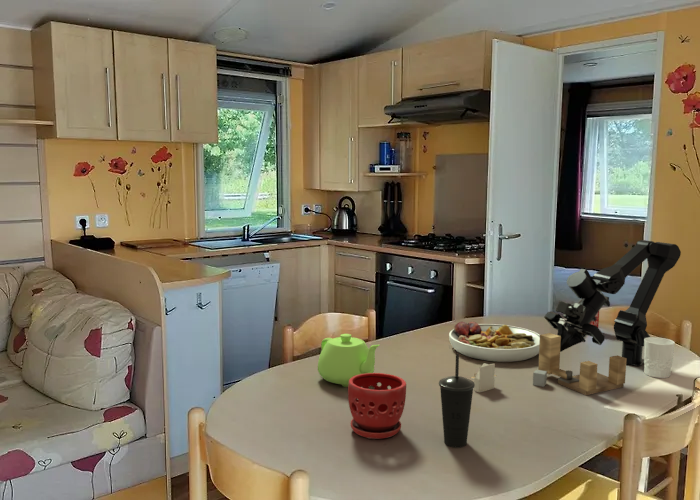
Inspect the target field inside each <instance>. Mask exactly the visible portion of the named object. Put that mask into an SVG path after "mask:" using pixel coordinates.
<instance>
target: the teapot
mask: <svg viewBox="0 0 700 500" xmlns="http://www.w3.org/2000/svg"><path fill="white" fill-rule="evenodd" d="M320 345H321V346H320V347H321V352H320V354H319V357H318V361H317V371H318V373H319V375H320V376H321V378H322V379H323V380H325V381H326V382H329V383H332V384H338V385H341V387H344V388H348V384H349V380H350V378H352V377H353V376H356V375H359V374H365V373H375V372H374V371H375V364H376V363H375V362H376V358H375V357H376V356H375V354H376V350H377V348H378V347H380V344H372V345H371V346H370V347H368V346H367V344H366V342H365V341H364V340H363V339H361V338H357V337H354V336H353V337H352V334H351V333H341V334H340V335H339V336H337V337H334V338H332V337H326V338H323V339H322V340H321V343H320Z"/></svg>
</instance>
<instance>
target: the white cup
mask: <svg viewBox="0 0 700 500" xmlns="http://www.w3.org/2000/svg"><path fill="white" fill-rule="evenodd" d="M675 344H676V343H675V341H674V340H672V339H669V338H665V337H658V336H650V337H648V338H645V339H644V346H643V359H644V363H643V364H644V365H643V372H644V374H645V375H647V376H649V377H651V378H656V379H657V378H659V379H666V378H670V377H671V372H672V367H673V361H674V351H675V346H676V345H675Z"/></svg>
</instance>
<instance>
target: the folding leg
mask: <svg viewBox="0 0 700 500" xmlns="http://www.w3.org/2000/svg"><path fill="white" fill-rule="evenodd" d="M560 344H561V336H559V335H557V334H554V333H552V332H547V333H543V334H540V344H539V353H538V369H537V370H542V371H547V375H552V376H553V375H554V376H556V377H558V378H559V377H562V378H564V379H568V380H571V379H572V376H573V370H564V369H561V368H560V365H561V363H560V360H561V352H560Z"/></svg>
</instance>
